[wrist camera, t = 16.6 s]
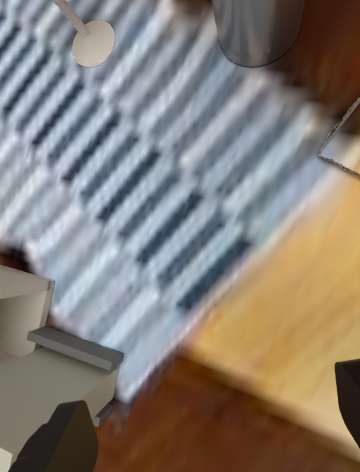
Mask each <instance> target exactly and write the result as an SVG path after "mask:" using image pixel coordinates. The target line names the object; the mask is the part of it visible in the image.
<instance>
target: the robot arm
mask: <svg viewBox="0 0 360 472" xmlns="http://www.w3.org/2000/svg"><path fill="white" fill-rule="evenodd" d="M212 4H213V10H214V16H215V22H216V27H217V32H218V38H219V42H220V47H221V49H222V51H223V53H224V54H225V55H226V56H227V58H228V59H230V60H231V61H233V62H234V63H236V64H239V65H241V66H247V67H256V66H262V65H266V64H268V63H271V62H273V61H275V60H277V59H278V58H280V57H281V56H282V55H284V54H285V53H286V52H287V51H288V50H289V49H290V48H291V46H292V45H293V43H294V42H295V40H296V38H297V36H298V33H299V30H300V25H301V20H302V14H303V9H304V4H305V0H212ZM335 375H336V385H337V394H338V403H339V409H340V412H341V415H342V418H343V420H344V423H345V425H346V427H347V429H348V430H349V432H350V434H351V435H352V437H353V438H354V440H355V442H356V443H357V445H358V446H359V448H360V359H355V360H348V361H342V362H336V363H335ZM97 457H98V438H97V434H96V431H95V428H94V425H93V422H92V418H91V415H90V412H89V409H88V406H87V403H86V402H85V401H84V400H78V401H71V402H65V403H60V404H59V405H58V406H57V407H56V409H55V411H54V412H53V414H52V416H51V418H50V419H49V421H48V423H46V424H42V425H41V426H40V427H39V428H38V429H37V430H36V431H35V433H34V434H33V435H32V436H31V437H30V438H29V439H28V440H27V441H26V443H25V445H24V446H23V448H22V450H21V451H20V453H19V454H18V456H17V460H16V461H14V463H13V464H12V466H11V467H10V469H9V471H8V472H93V470H94V467H95V464H96V461H97Z"/></svg>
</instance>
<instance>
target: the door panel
mask: <svg viewBox="0 0 360 472" xmlns="http://www.w3.org/2000/svg"><path fill="white" fill-rule="evenodd" d="M119 368H120V366H116V367H115V368H113V369H112V370H111V371H108V370H106V369H103V368H100V367H98V366H95V365H92V364H90V363H87V362H84V361H82V360H79V359H77V358H74V357H71V356H69V355H66V354H63V353H61V352H58V351H55V350H53V349H50V348H47V347H45V346H44V347H42V348H40V349H37V350H35V351H33V352H30V353H28V354H26V355H24V356H21V357H19V358H17V359H14V360H12V361H10V362H7V363H5V364H3V365H1V366H0V472H8V471H9V469H10V467H11V466H12V464H13V463H14V461H16V460H17V456H18V454H19V453H20V451H21V450H22V448H23V446H24V445H25V443H26V441H27V440H28V439H29V438H30V437H31V436H32V435H33V434H34V433H35V431H36V430H37V429H38V428H39V427H40V426H41V425H42V424H46V423H48V421H49V419H50V418H51V416H52V414H53V412H54V411H55V409H56V407H57V406H58V405H59V404H60V403H65V402H71V401H78V400H84V401H85V402H86V403H87V406H88V409H89V412H90V415H91V418H92V419H93V418H94V417H95V416H96V415H97V414H98V413H99V412H100V411H101V410H102V409H103V408H104V407H105V406H106V405H107V404H108V403H109V402H110V401H111V400H112V399H113V396H114V391H115V387H116V382H117V377H118V373H119Z"/></svg>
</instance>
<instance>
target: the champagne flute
mask: <svg viewBox="0 0 360 472" xmlns="http://www.w3.org/2000/svg"><path fill="white" fill-rule="evenodd" d="M53 1H54V3H55V4H56V5H57V6H58V7H59V9H60V10H61V11H62V12H63V14H64V15H65V16H66V17H67V19H68V20H69V21H70V22H71V23H72V25H73V26H74V27H75V28H76V30H77V31H78V33H77V34H76V36H75V39H74V41H73V48H72V51H73V56H74V58H75V60H76V61H77V62H78V63H79V64H80V65H82V66H85V67H93V66H97V65H99V64H101V63H102V62H104V61H105V60H106V59H107V58H108V56H109V55H110V54H111V52H112V50H113V47H114V43H115V34H114V30H113V28H112V27H111V25H110V24H109V23H107V22H105V21H102V20H94V21H91V22H89V23H87V24H85V25H84V24H83V22H82V21H81V20H80V18H79V17H78V16H77V14H76V13H75V12H74V10H73V9H72V8H71V6H70V5H69V4H68V3H67V1H66V0H53Z"/></svg>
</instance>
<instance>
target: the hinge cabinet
mask: <svg viewBox="0 0 360 472" xmlns="http://www.w3.org/2000/svg"><path fill="white" fill-rule="evenodd" d="M54 284H55V281H54V280H50V279H47V278H44V277H40V276H37V275H33V274H30V273H27V272H23V271H20V270H16V269H13V268H10V267H6V266H3V265H0V366H1V365H3V364H5V363H7V362H10V361H12V360H14V359H17V358H19V357H21V356H24V355H26V354H28V353H30V352H33V351H35V350H37V349H40V348H41V345H42V346H45V347H47V348H50V349H53V350H55V351H58V352H61V353H63V354H66V355H69V356H71V357H74V358H77V359H79V360H82V361H84V362H87V363H90V364H92V365H95V366H98V367H100V368H103V369H106V370H108V371H111V370H112V369H113V368H115V367H116V366H117V365H118V364H120V363H121V362H122V360H123V355H124V353H121V352H118V351H115V350H112V349H109V348H107V347H104V346H101V345H98V344H95V343H92V342H90V341H87V340H84V339H81V338H78V337H75V336H73V335H70V334H67V333H64V332H61V331H58V330H56V329H53V328H50V327H47V326H46V321H47V316H48V312H49V307H50V302H51V298H52V293H53V288H54ZM112 407H113V405H112V404H110V403H108V404H107V405H106V406H105V407H104V408H103V409H102V410H101V411H100V412H99V413H98V414H97V415H96V416H95V417H94V418H93V419H92V422H93V425H95V426H97V427H99V426H100V424H101V423H102V422H103V421H104V420H105V419H106V418H107V417H108V416H109V415H110V414H111V412H112Z"/></svg>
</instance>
